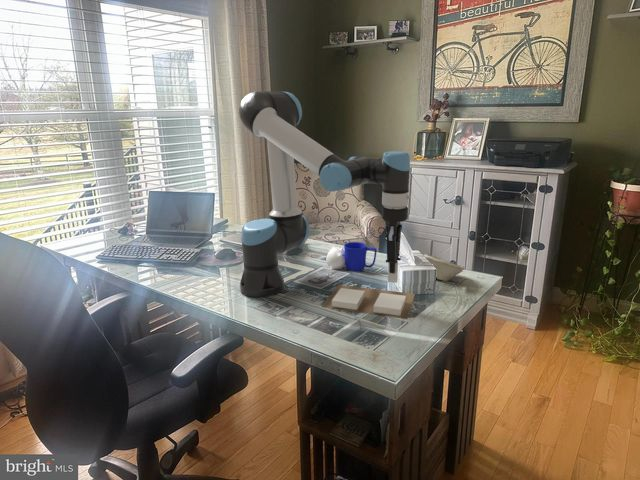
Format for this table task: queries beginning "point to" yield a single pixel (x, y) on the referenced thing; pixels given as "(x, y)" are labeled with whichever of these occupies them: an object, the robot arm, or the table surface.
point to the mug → (357, 256)
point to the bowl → (444, 268)
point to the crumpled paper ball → (336, 258)
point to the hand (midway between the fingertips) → (392, 281)
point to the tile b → (389, 304)
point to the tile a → (348, 298)
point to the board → (371, 301)
